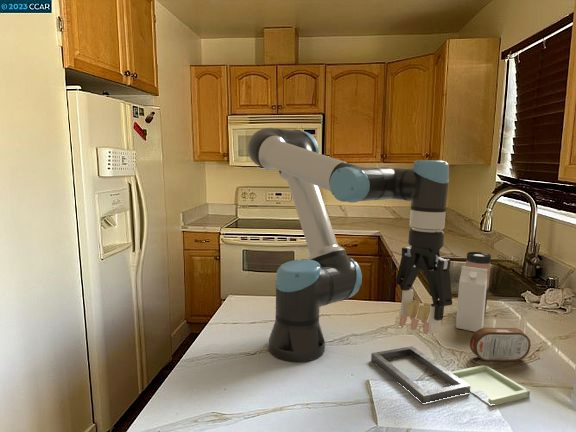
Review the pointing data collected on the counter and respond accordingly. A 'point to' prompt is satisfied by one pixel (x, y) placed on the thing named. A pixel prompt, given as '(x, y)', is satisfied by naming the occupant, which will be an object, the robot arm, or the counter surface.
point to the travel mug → (480, 265)
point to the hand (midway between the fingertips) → (419, 323)
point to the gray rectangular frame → (444, 374)
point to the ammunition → (422, 315)
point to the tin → (500, 344)
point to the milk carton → (471, 298)
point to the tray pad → (492, 384)
